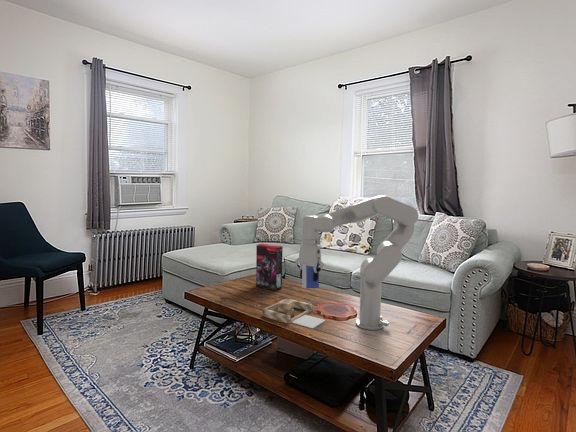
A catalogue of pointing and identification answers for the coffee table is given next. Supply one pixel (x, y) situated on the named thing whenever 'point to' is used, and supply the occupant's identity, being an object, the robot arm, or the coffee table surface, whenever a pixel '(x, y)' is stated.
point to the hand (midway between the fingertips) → (309, 279)
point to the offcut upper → (285, 305)
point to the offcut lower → (288, 313)
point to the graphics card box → (269, 266)
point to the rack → (271, 313)
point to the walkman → (309, 277)
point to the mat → (308, 321)
